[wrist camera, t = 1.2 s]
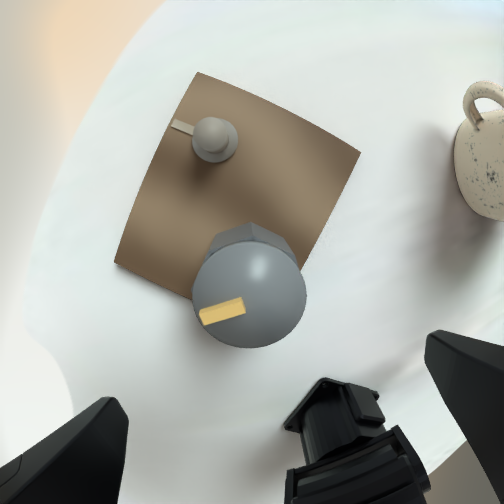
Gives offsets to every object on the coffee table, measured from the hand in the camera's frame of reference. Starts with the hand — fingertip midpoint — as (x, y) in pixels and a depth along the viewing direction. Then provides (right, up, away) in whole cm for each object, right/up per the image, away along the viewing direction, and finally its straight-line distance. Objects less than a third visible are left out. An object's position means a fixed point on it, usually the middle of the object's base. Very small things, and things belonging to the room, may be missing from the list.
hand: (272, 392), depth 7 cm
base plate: (-2, +6, +11) cm, 13 cm away
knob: (-1, +3, +11) cm, 11 cm away
